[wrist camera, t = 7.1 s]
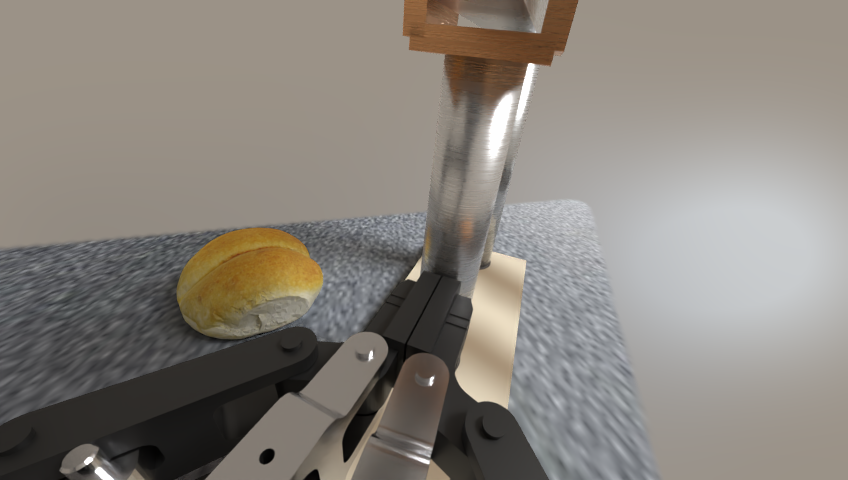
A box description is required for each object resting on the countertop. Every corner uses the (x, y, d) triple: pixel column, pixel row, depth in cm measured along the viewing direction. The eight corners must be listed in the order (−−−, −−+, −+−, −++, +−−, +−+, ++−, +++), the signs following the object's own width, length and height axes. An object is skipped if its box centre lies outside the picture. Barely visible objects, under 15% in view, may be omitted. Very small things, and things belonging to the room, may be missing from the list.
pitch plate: (458, 737, 8) (466, 737, 7) (219, 575, 10) (208, 563, 9) (522, 272, 26) (526, 259, 25) (433, 247, 28) (435, 235, 27)
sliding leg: (464, 399, 14) (638, -211, 5) (386, 368, 15) (414, -190, 6) (477, 350, 16) (609, -120, 7) (409, 326, 17) (453, -114, 8)
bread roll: (297, 246, 26) (291, 204, 24) (338, 310, 21) (335, 262, 18) (179, 274, 22) (159, 225, 20) (188, 367, 16) (161, 311, 14)
